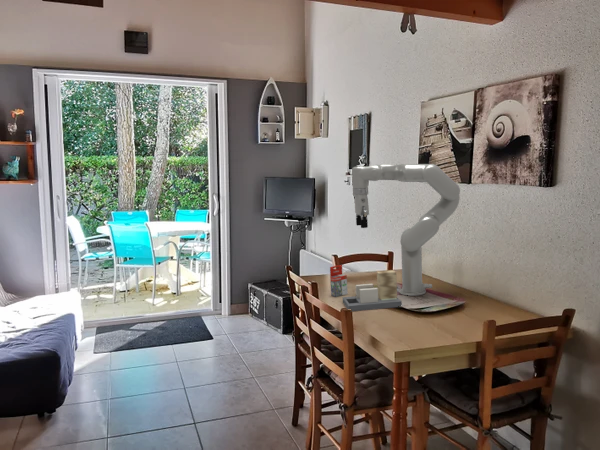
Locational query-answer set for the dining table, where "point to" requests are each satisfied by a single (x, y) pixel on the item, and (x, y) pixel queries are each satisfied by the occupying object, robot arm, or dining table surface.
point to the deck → (355, 303)
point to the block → (387, 284)
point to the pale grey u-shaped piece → (367, 293)
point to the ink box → (338, 281)
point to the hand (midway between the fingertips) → (361, 226)
